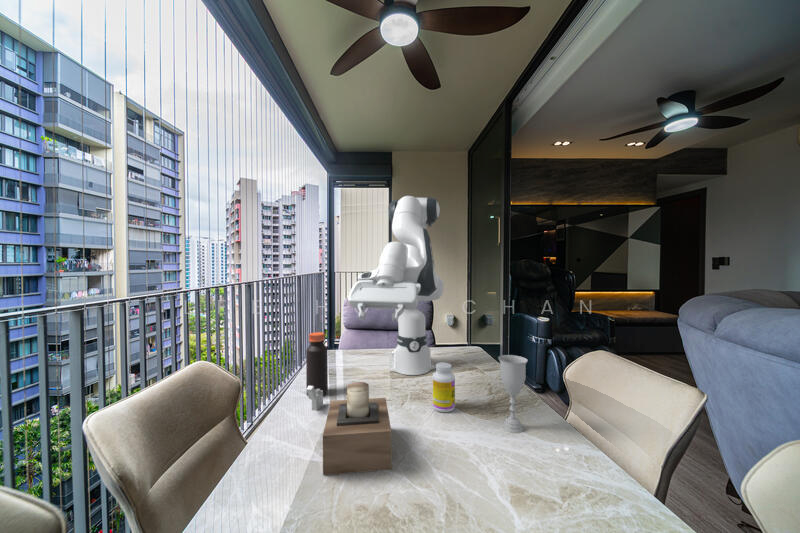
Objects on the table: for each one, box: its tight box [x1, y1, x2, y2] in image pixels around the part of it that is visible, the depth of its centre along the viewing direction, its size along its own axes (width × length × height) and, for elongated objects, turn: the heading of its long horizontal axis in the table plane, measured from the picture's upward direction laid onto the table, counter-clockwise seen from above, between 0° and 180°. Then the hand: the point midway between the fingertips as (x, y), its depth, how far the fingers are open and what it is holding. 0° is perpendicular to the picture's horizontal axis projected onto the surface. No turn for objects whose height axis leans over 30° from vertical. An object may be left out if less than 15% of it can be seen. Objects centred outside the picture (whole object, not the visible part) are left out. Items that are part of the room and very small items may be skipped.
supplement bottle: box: [432, 362, 456, 413], centre depth 90 cm, size 7×7×13 cm
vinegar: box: [305, 331, 329, 397], centre depth 100 cm, size 7×7×20 cm
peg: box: [346, 381, 370, 418], centre depth 70 cm, size 5×5×8 cm
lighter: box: [305, 386, 324, 412], centre depth 90 cm, size 7×2×8 cm, turn 168°
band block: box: [322, 397, 392, 476], centre depth 70 cm, size 16×14×9 cm
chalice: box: [497, 354, 528, 434], centre depth 79 cm, size 7×7×18 cm
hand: (377, 319), depth 82 cm, fingers open, 8 cm apart
